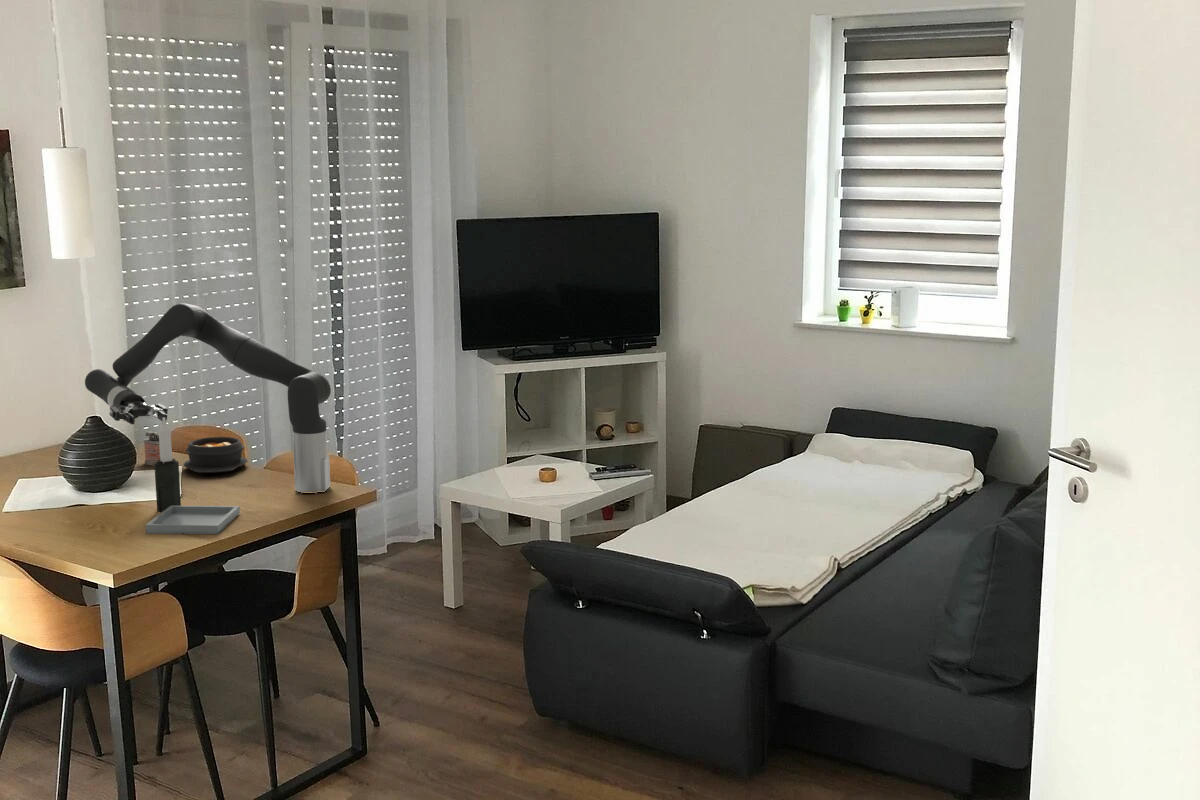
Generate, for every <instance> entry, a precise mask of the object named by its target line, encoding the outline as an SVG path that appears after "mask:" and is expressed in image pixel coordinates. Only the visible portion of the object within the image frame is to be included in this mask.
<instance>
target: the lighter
mask: <svg viewBox="0 0 1200 800" xmlns="http://www.w3.org/2000/svg"><path fill="white" fill-rule="evenodd" d="M145 437H148V438H144V439H143V443H144V444H143V445H144V456H145V457H144V459H145V460H144V464H145V465H149V466H150V465H151V466H154V464H156V463H157V460H160V445H159V431H155V432H153V431H146V432H145Z"/></svg>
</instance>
